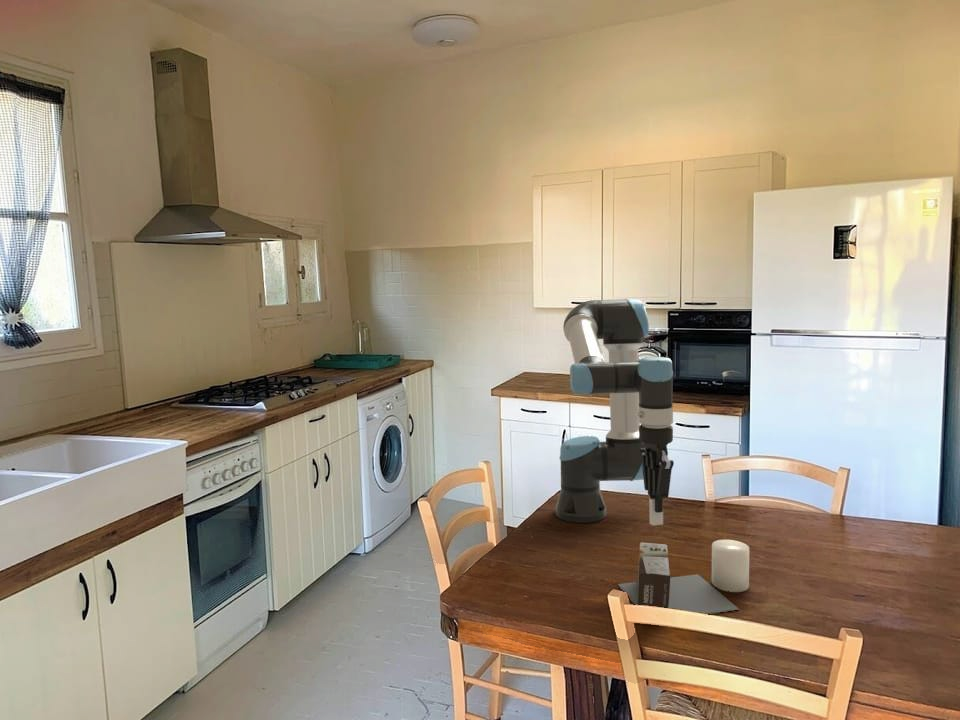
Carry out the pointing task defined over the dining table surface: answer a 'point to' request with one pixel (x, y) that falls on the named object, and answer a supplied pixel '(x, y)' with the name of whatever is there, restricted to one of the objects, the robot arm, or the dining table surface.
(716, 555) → the white rounded cylinder
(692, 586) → the mat
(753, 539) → the dining table surface
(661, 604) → the coffee box
